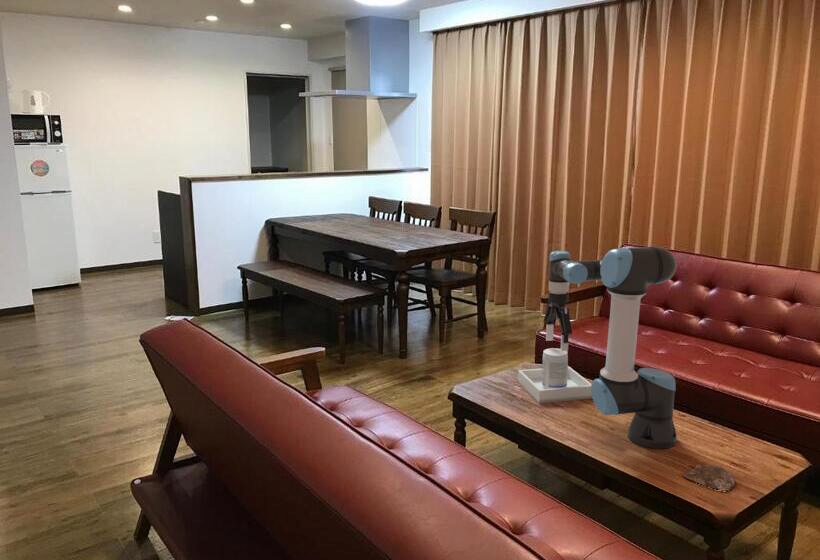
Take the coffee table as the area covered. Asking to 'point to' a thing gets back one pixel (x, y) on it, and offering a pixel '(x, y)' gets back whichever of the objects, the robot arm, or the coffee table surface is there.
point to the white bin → (573, 391)
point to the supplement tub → (554, 368)
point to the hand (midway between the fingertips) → (556, 345)
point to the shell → (711, 477)
